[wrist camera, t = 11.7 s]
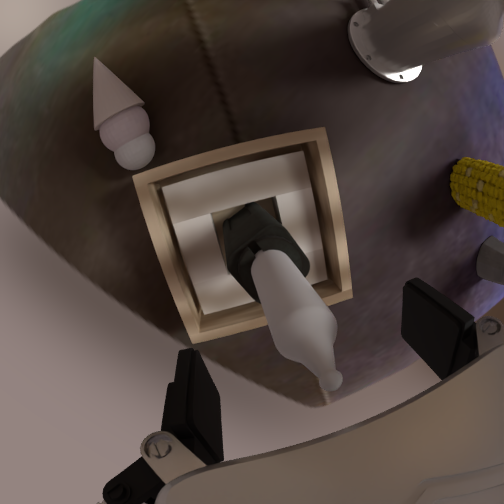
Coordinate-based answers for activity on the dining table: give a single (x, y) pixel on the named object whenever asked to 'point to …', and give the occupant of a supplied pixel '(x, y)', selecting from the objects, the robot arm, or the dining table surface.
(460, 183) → the food
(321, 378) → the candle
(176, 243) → the box
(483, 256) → the coffeepot
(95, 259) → the dining table surface
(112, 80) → the ice cream cone
